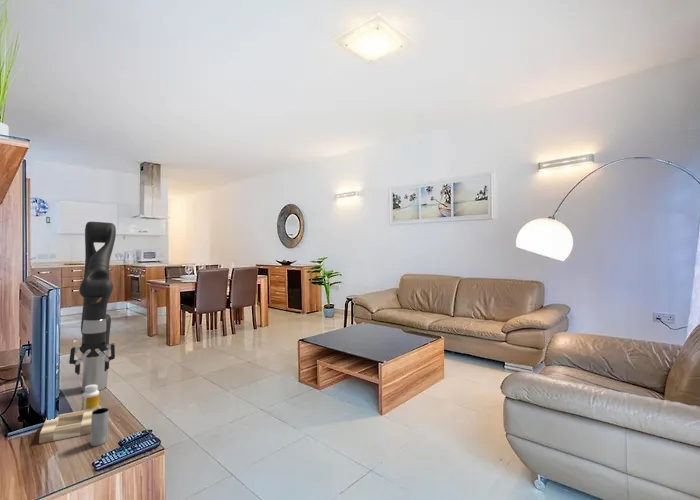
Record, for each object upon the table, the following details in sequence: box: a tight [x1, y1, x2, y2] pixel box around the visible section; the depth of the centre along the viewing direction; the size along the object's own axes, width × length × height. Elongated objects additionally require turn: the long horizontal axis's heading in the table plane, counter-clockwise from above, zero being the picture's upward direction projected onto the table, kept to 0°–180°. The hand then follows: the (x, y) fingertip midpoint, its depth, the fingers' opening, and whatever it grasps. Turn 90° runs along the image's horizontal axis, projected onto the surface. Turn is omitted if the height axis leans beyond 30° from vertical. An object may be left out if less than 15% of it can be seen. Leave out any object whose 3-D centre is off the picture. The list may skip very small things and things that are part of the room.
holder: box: [38, 408, 96, 444], centre depth 122 cm, size 14×14×3 cm
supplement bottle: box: [81, 385, 100, 411], centre depth 135 cm, size 5×5×10 cm
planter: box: [89, 407, 110, 447], centre depth 114 cm, size 4×4×10 cm
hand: (92, 372), depth 135 cm, fingers open, 8 cm apart
